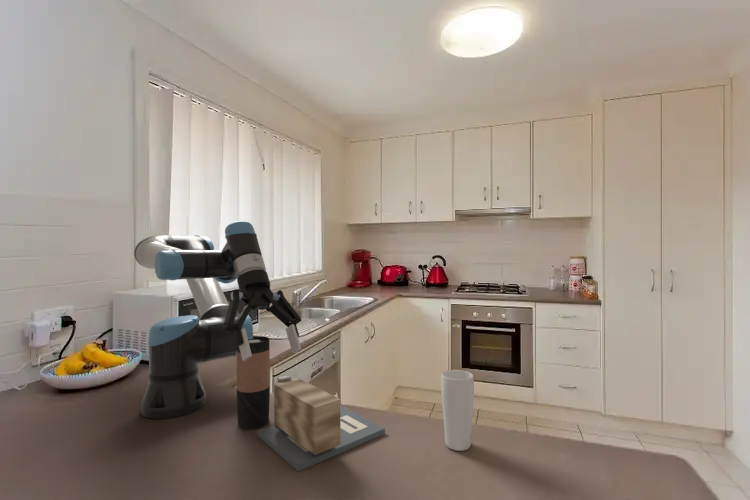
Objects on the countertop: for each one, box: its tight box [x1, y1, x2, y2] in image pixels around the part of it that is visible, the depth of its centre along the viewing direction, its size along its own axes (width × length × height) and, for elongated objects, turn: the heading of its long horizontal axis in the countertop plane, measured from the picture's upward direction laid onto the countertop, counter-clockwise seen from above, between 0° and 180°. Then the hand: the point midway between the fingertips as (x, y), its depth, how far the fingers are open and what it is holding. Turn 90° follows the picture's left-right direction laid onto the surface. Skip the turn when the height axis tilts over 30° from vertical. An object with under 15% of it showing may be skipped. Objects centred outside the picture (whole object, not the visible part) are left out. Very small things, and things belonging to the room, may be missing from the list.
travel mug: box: [236, 335, 271, 430], centre depth 90 cm, size 8×8×20 cm
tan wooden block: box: [273, 375, 341, 455], centre depth 80 cm, size 20×6×9 cm, turn 41°
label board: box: [257, 404, 386, 472], centre depth 84 cm, size 19×22×2 cm
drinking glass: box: [440, 369, 475, 452], centre depth 79 cm, size 7×7×15 cm
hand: (273, 354), depth 87 cm, fingers open, 13 cm apart
